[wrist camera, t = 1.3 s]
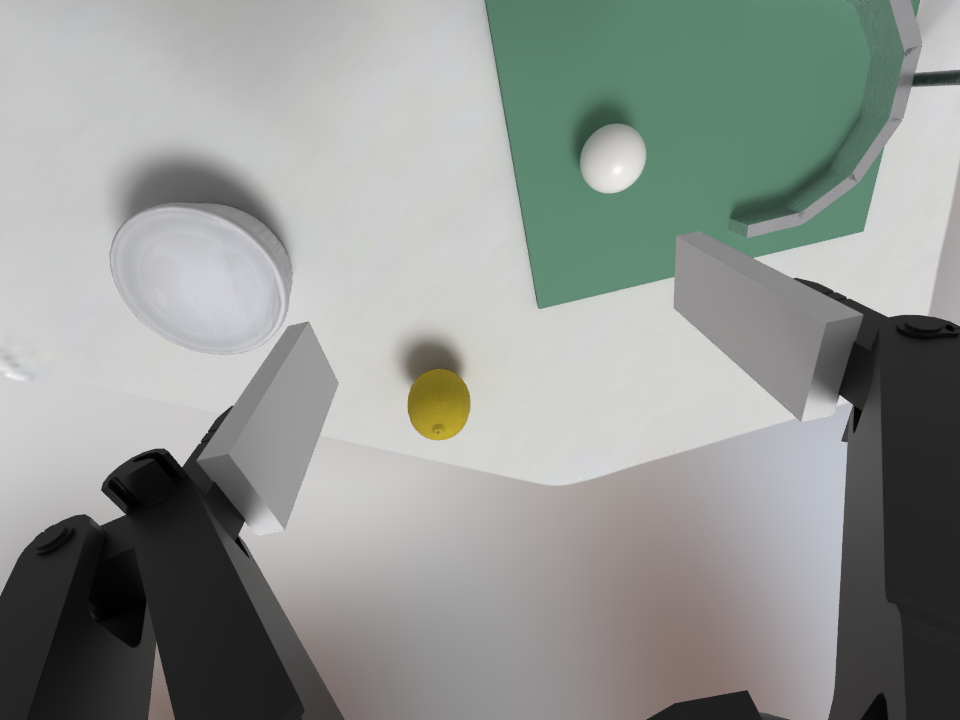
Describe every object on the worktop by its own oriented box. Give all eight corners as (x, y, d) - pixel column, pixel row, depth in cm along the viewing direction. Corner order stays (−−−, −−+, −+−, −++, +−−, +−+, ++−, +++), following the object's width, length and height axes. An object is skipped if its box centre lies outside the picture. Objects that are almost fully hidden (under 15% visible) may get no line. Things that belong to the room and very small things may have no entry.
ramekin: (333, 289, 36) (317, 315, 31) (231, 347, 38) (202, 379, 33) (234, 160, 30) (198, 170, 26) (121, 236, 32) (69, 257, 28)
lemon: (427, 344, 39) (423, 394, 32) (478, 368, 41) (485, 421, 34) (401, 388, 41) (392, 444, 34) (450, 409, 43) (452, 466, 36)
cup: (747, -21, 27) (1067, -155, 13) (936, -73, 26) (1482, -272, 12) (728, 230, 35) (911, 309, 21) (871, 195, 34) (1154, 254, 21)
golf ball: (569, 131, 30) (587, 134, 27) (630, 115, 30) (657, 116, 26) (576, 194, 33) (593, 205, 29) (633, 180, 32) (657, 189, 29)
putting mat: (483, -7, 26) (484, -9, 26) (946, -139, 25) (955, -143, 24) (537, 306, 38) (538, 309, 37) (858, 229, 36) (863, 231, 36)
